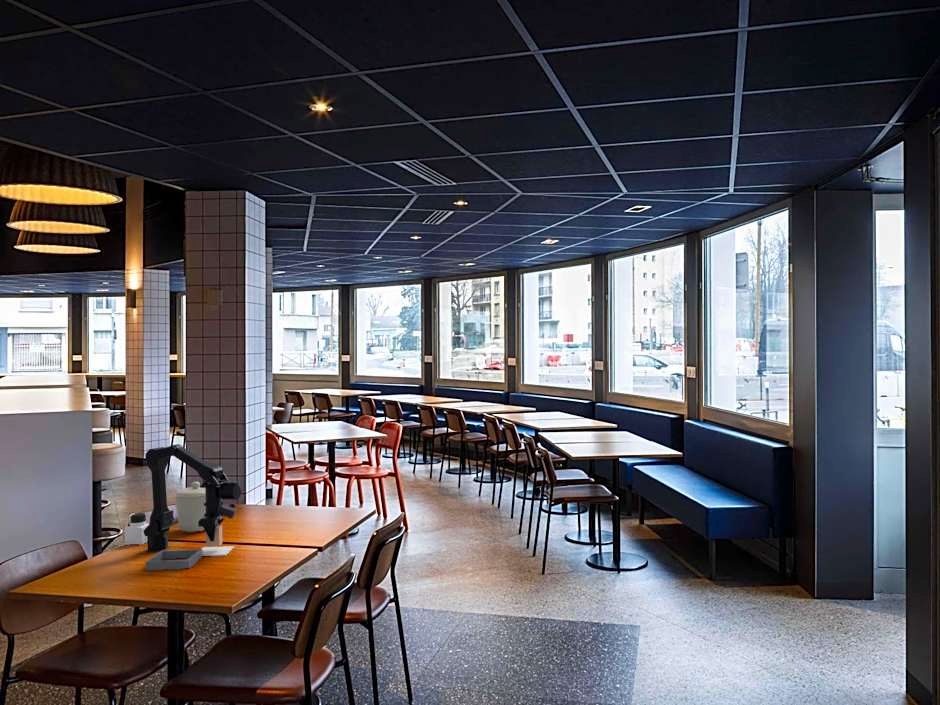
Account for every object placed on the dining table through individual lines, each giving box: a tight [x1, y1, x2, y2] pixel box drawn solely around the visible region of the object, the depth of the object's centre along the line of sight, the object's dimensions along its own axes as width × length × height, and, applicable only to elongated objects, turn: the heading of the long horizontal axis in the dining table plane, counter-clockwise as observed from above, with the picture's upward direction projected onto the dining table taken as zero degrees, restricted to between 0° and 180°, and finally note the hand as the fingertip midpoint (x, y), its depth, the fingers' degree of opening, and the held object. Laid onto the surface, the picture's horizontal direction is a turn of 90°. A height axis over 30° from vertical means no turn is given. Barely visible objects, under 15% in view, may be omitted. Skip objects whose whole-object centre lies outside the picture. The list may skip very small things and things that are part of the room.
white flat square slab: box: [201, 545, 235, 557], centre depth 278 cm, size 12×12×1 cm
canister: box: [172, 481, 206, 533], centre depth 316 cm, size 18×18×21 cm
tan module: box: [205, 524, 223, 547], centre depth 278 cm, size 5×4×7 cm
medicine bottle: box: [124, 512, 150, 546], centre depth 295 cm, size 7×7×12 cm
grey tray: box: [145, 548, 203, 571], centre depth 263 cm, size 15×15×3 cm
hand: (214, 539), depth 278 cm, fingers closed on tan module, 4 cm apart
